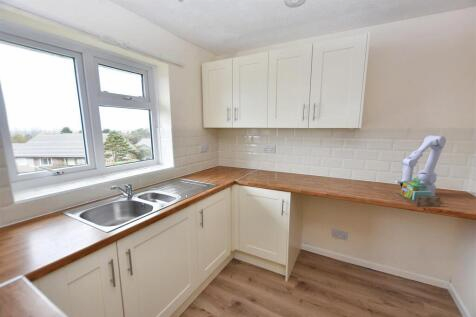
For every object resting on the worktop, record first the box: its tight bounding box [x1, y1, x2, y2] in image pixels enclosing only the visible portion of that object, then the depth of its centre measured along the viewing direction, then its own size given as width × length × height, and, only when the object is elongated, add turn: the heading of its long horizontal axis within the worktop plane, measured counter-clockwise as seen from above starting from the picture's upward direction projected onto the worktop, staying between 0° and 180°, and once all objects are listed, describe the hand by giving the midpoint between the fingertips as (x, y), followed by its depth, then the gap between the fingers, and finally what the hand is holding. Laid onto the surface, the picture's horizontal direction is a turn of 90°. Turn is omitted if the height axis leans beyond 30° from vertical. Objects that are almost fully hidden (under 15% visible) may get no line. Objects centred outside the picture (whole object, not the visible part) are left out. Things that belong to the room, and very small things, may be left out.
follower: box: [412, 191, 432, 201], centre depth 136 cm, size 11×2×8 cm, turn 90°
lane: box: [394, 192, 441, 207], centre depth 140 cm, size 14×19×6 cm
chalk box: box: [399, 177, 427, 199], centre depth 142 cm, size 9×9×15 cm
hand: (404, 192), depth 149 cm, fingers closed
